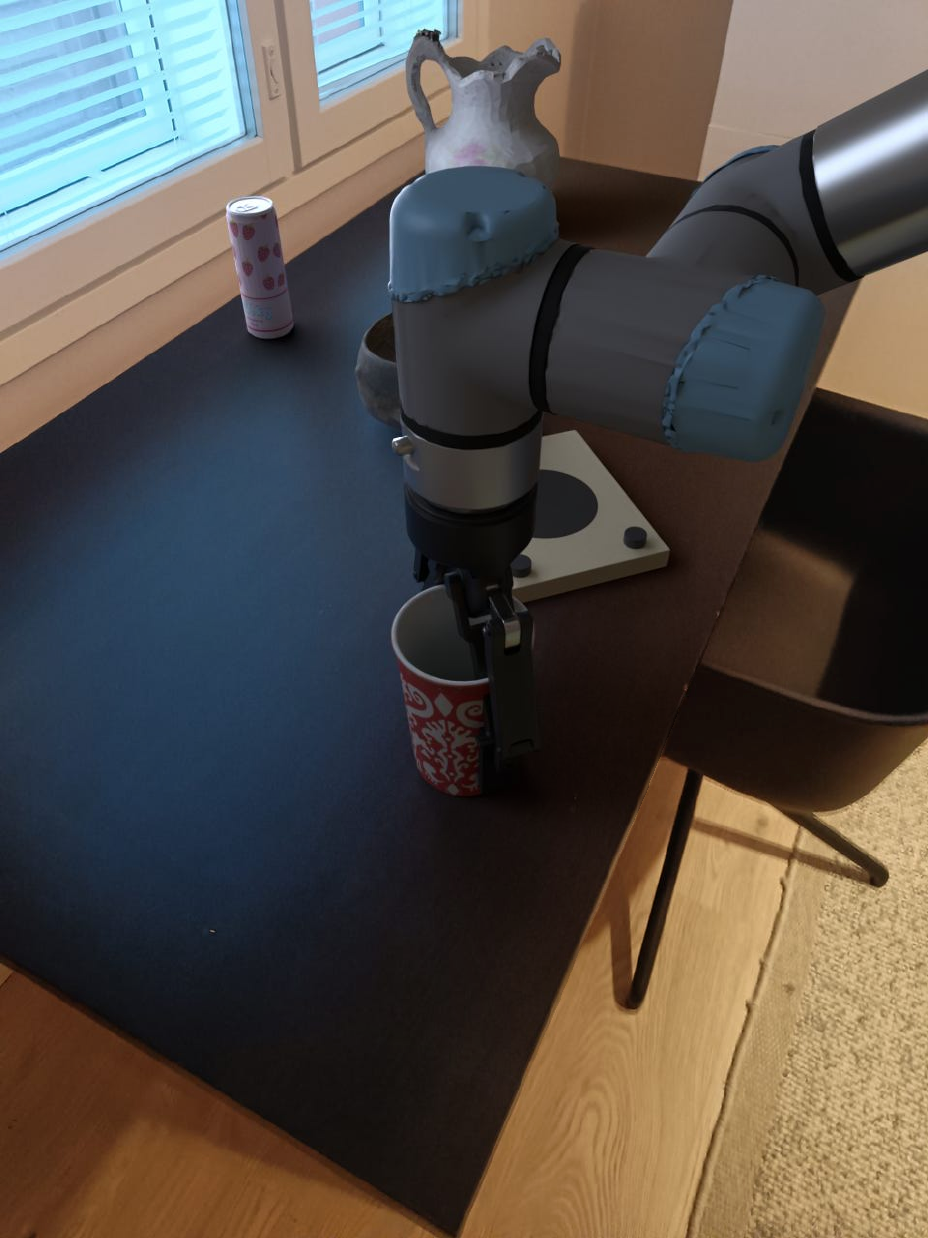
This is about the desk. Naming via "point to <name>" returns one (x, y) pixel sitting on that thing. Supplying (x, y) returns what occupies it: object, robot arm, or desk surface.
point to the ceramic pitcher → (487, 108)
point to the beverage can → (260, 266)
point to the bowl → (380, 373)
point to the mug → (441, 690)
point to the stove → (582, 526)
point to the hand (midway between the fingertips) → (470, 723)
